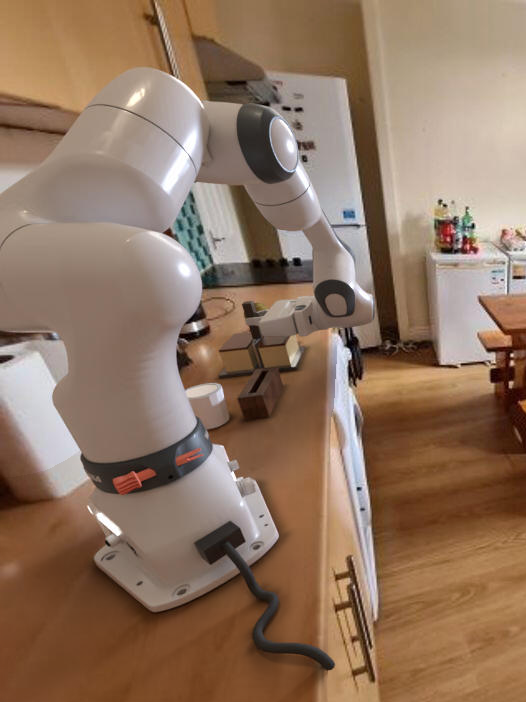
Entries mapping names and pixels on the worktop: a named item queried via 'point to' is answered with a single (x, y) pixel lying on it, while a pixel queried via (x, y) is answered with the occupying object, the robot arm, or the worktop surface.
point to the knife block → (260, 393)
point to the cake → (272, 351)
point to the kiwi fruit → (258, 307)
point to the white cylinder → (208, 404)
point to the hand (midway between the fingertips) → (248, 319)
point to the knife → (254, 329)
